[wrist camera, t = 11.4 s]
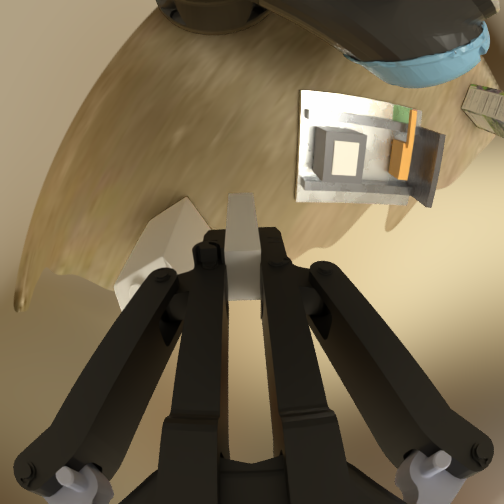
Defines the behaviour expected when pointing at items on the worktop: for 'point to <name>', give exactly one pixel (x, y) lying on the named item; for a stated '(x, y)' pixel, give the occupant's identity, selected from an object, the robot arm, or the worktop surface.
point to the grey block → (339, 155)
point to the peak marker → (403, 151)
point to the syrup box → (485, 108)
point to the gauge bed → (367, 151)
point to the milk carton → (162, 247)
